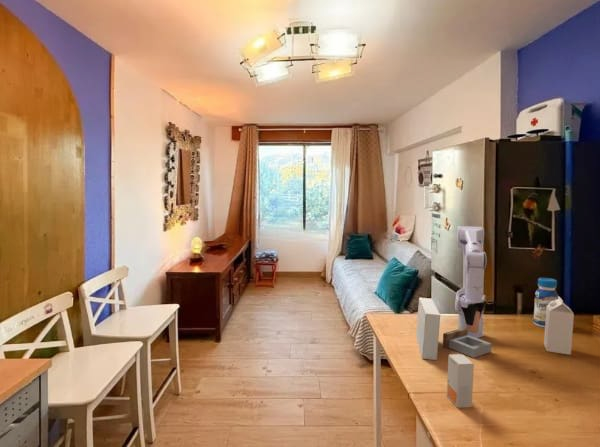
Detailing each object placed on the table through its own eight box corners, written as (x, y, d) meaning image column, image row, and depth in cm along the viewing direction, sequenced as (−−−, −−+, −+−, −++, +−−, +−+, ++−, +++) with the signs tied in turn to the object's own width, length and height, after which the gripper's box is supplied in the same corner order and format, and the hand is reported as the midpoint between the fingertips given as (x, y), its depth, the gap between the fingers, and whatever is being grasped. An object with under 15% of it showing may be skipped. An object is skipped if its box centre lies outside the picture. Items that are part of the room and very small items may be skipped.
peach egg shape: (476, 329, 137) (477, 310, 137) (480, 333, 133) (481, 313, 133) (464, 328, 138) (465, 309, 137) (468, 332, 134) (469, 313, 133)
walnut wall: (463, 340, 145) (464, 327, 145) (466, 341, 144) (467, 328, 144) (442, 346, 139) (443, 333, 139) (446, 348, 138) (446, 334, 137)
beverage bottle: (556, 324, 165) (559, 278, 163) (556, 329, 158) (559, 282, 156) (533, 320, 169) (536, 276, 168) (532, 325, 162) (535, 279, 160)
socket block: (466, 342, 143) (466, 334, 143) (491, 351, 135) (491, 343, 134) (448, 347, 138) (449, 339, 138) (473, 357, 129) (474, 349, 129)
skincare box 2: (445, 395, 105) (447, 354, 104) (460, 395, 106) (462, 353, 105) (456, 408, 99) (458, 364, 98) (472, 407, 100) (474, 363, 99)
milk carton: (566, 348, 139) (570, 297, 138) (571, 355, 133) (574, 302, 131) (543, 344, 142) (547, 294, 141) (547, 351, 136) (550, 299, 134)
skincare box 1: (438, 361, 127) (440, 314, 126) (421, 359, 128) (423, 313, 127) (430, 337, 148) (432, 297, 147) (415, 336, 149) (417, 296, 148)
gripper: (472, 280, 142) (470, 316, 143) (453, 286, 132) (451, 324, 134) (492, 284, 137) (490, 321, 138) (473, 290, 127) (471, 330, 128)
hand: (472, 323), depth 135 cm, fingers closed on peach egg shape, 4 cm apart
